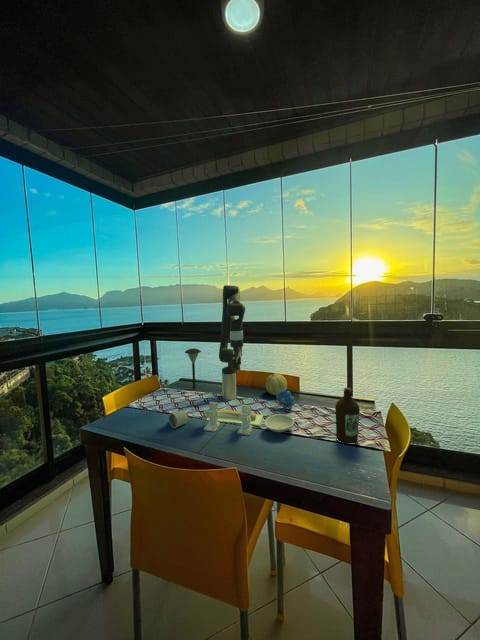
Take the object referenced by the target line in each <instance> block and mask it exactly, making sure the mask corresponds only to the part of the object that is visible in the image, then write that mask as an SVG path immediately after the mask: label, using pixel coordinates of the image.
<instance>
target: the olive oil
mask: <svg viewBox="0 0 480 640" xmlns="http://www.w3.org/2000/svg"><path fill="white" fill-rule="evenodd" d="M352 393H353V392H352V388H351V387H344V389H343V396H342V397H340V398H339V399H338V400H337V401H336V404H335V409H334V410H335V411H334V412H335V433H336V435H335V436H336V437H335V438H337V439H338V440H339V441H341V442H343V443H356V442H357V443H358V441H357V440H358V438H359V437H358V436H359V423H360V422H359V421H360V412H361V410H360V406H359V404H358V402H357V401H356V400H355V399H354V398H353V397H352ZM337 439H336V440H337ZM338 440H337V441H338ZM339 441H338V442H339ZM357 443H356V444H357Z"/></svg>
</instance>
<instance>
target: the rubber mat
mask: <svg viewBox="0 0 480 640" xmlns="http://www.w3.org/2000/svg"><path fill="white" fill-rule="evenodd" d="M263 417H264V415H263V414H257V413H256V420H251V426H256V425H257V426H260V425H261V423H262V420H263ZM205 420H206V421H208V422H209V421H210V418H206V419H205ZM218 422H220V423H227V424H237V425H242V421H240V419H236V418H225V417H218Z"/></svg>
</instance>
